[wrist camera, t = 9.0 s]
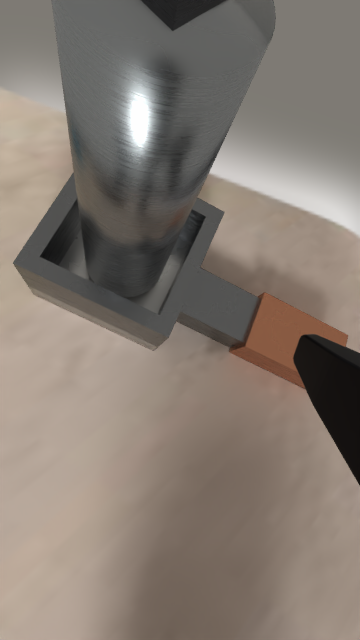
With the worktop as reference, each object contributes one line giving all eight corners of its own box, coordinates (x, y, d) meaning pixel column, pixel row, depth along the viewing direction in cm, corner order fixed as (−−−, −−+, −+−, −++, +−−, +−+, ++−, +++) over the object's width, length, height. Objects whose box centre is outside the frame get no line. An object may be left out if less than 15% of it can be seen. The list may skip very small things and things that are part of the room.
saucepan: (300, 420, 20) (353, 426, 16) (33, 294, 18) (12, 263, 14) (329, 316, 23) (382, 298, 18) (95, 194, 20) (94, 141, 16)
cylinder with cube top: (125, 312, 18) (189, 68, 5) (68, 257, 18) (-32, -146, 5) (177, 263, 19) (339, -30, 6) (125, 212, 19) (172, -194, 6)
